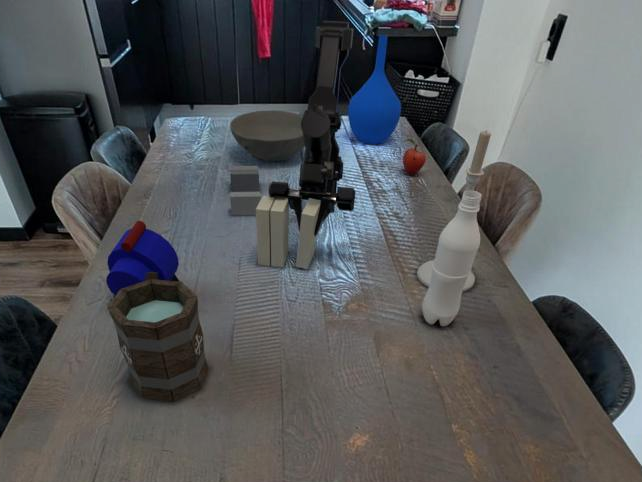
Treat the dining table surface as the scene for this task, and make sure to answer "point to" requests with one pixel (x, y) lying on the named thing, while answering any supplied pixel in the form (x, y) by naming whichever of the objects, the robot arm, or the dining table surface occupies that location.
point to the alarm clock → (140, 258)
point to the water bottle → (453, 262)
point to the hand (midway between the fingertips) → (307, 234)
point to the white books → (272, 231)
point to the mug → (160, 337)
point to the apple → (413, 160)
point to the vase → (375, 104)
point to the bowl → (269, 134)
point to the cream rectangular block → (307, 233)
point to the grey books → (244, 190)
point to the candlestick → (472, 180)
